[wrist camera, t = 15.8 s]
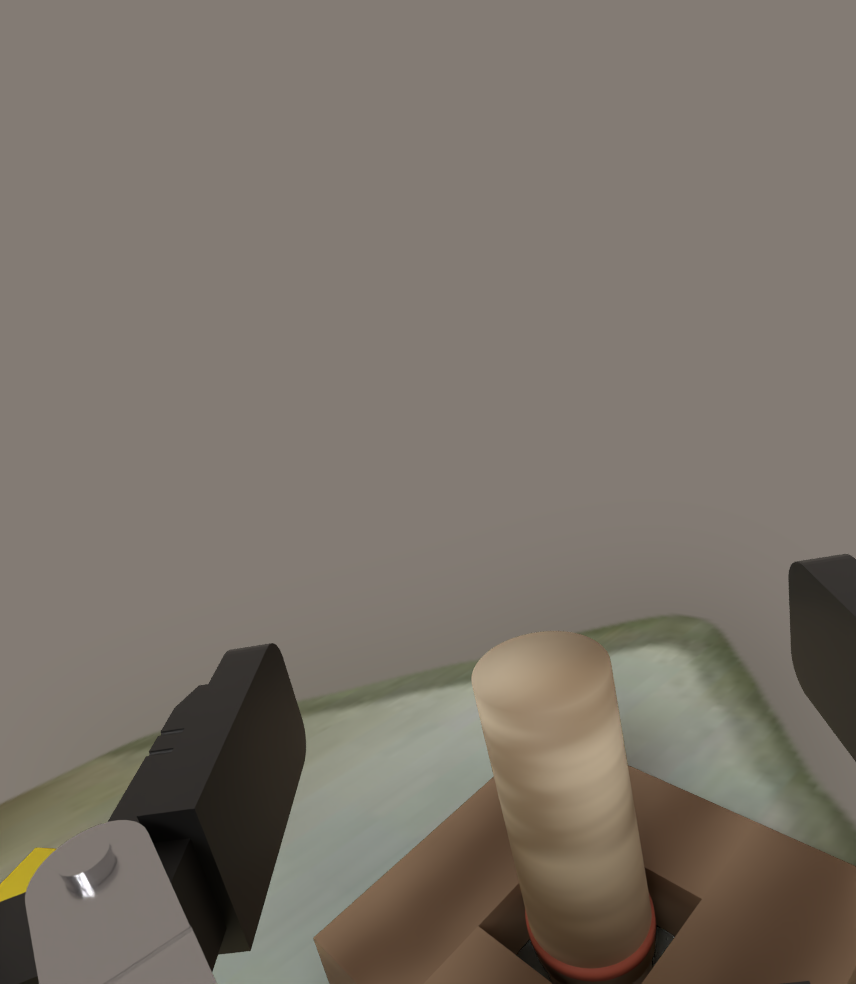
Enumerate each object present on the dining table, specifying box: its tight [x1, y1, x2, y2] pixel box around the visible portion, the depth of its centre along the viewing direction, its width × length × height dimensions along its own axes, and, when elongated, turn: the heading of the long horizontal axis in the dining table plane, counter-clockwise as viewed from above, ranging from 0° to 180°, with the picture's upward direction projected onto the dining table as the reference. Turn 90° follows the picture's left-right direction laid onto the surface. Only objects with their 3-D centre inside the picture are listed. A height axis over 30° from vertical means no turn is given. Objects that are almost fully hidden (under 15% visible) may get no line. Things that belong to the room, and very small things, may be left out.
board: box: [313, 765, 856, 984], centre depth 28 cm, size 16×15×3 cm
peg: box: [471, 631, 656, 984], centre depth 26 cm, size 5×5×14 cm
